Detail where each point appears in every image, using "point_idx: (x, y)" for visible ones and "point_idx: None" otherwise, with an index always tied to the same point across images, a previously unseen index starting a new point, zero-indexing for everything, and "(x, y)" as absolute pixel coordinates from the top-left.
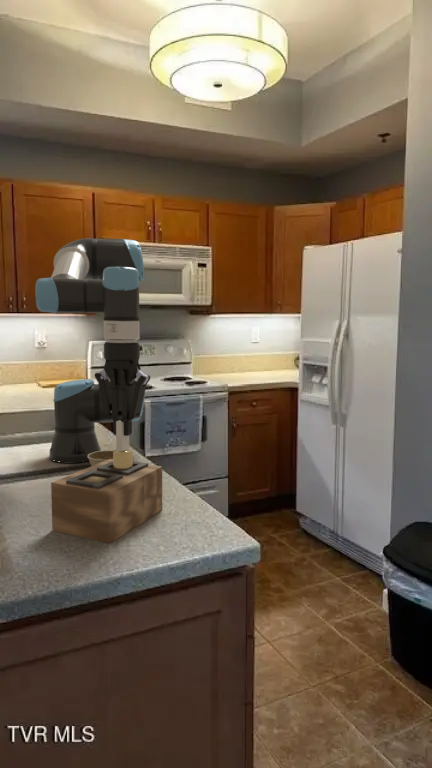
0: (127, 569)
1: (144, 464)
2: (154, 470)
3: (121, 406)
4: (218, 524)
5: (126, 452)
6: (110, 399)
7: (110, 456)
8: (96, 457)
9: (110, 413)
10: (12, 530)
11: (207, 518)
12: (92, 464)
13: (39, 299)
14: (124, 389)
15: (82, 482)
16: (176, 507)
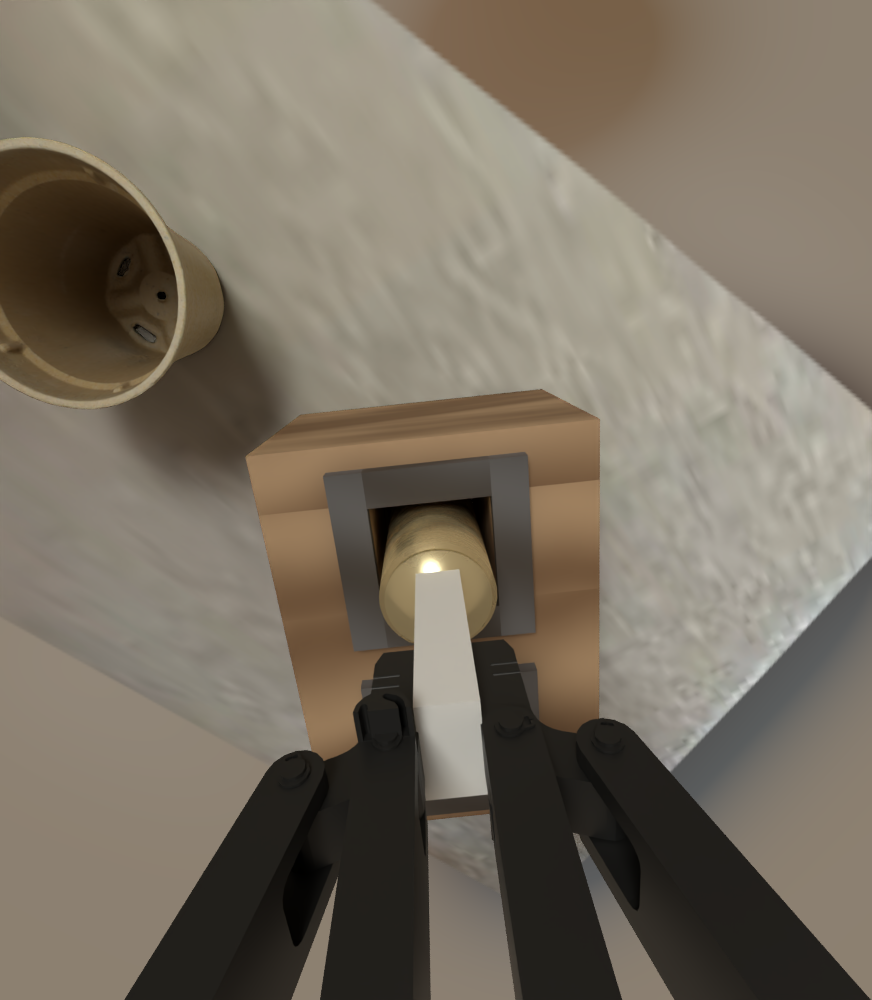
0: (673, 747)
1: (521, 483)
2: (599, 499)
3: (419, 860)
4: (792, 398)
5: (484, 618)
6: (254, 995)
7: (8, 182)
8: None
9: (338, 851)
10: (261, 746)
11: (735, 369)
12: (81, 388)
13: None
14: None
15: (456, 806)
16: (576, 334)
